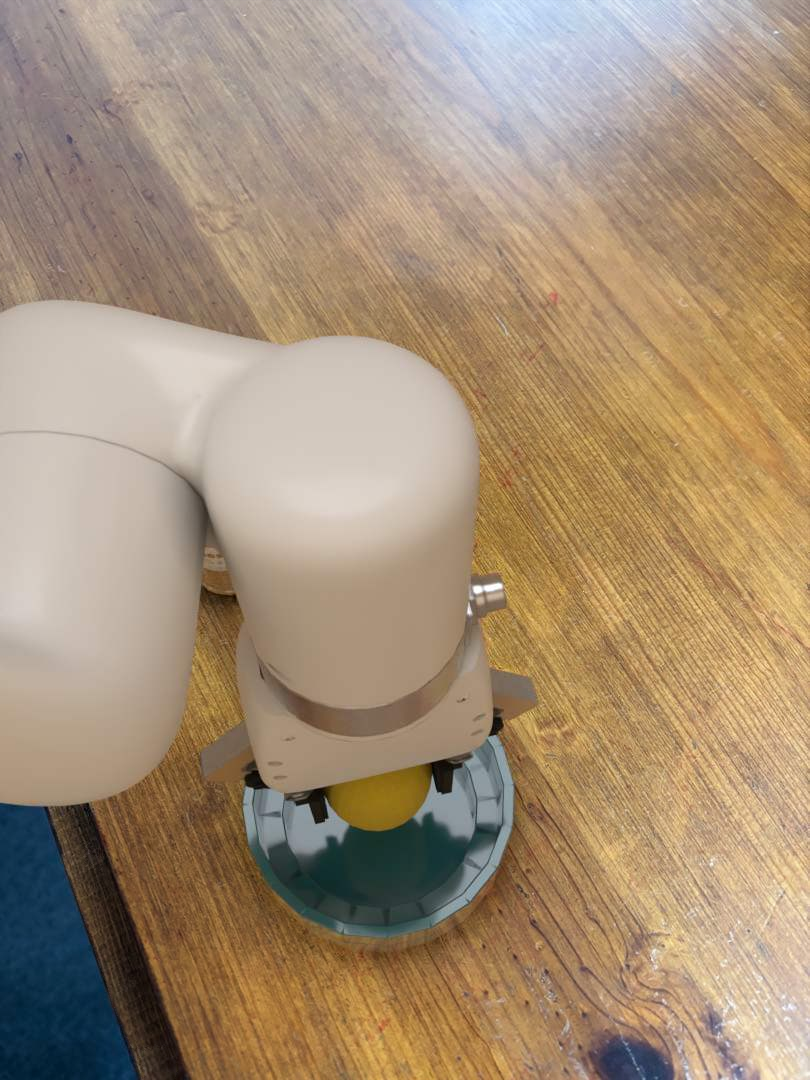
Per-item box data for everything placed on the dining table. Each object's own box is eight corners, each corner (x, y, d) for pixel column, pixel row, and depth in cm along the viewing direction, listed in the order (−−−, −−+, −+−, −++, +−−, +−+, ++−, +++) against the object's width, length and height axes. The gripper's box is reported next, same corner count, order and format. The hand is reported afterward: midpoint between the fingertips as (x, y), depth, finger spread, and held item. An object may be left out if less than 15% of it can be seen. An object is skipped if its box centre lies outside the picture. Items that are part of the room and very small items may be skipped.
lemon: (393, 868, 54) (390, 827, 47) (305, 809, 55) (288, 761, 48) (451, 779, 56) (456, 727, 49) (364, 724, 58) (357, 667, 51)
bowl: (278, 982, 56) (267, 968, 52) (237, 730, 63) (224, 699, 58) (537, 917, 57) (547, 899, 53) (470, 678, 64) (474, 644, 60)
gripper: (560, 492, 40) (520, 674, 56) (107, 585, 39) (197, 747, 54) (625, 670, 37) (563, 812, 52) (128, 783, 35) (218, 895, 51)
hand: (377, 778), depth 53 cm, fingers closed on lemon, 5 cm apart
